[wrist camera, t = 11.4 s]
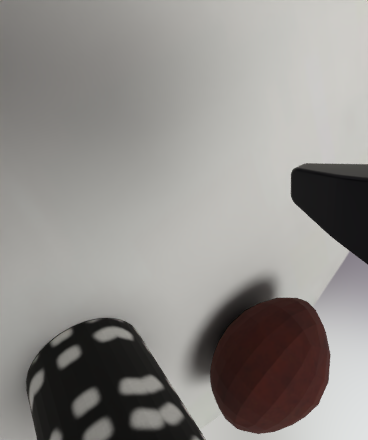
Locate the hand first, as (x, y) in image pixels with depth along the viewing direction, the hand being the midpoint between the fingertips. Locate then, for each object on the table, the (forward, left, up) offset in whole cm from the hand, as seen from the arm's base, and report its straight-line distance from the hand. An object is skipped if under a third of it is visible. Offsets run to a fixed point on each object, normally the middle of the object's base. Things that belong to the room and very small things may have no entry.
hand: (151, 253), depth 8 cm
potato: (+10, -22, -12) cm, 27 cm away
